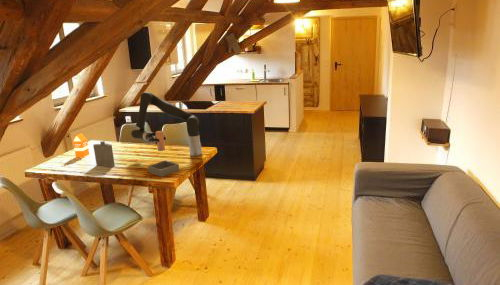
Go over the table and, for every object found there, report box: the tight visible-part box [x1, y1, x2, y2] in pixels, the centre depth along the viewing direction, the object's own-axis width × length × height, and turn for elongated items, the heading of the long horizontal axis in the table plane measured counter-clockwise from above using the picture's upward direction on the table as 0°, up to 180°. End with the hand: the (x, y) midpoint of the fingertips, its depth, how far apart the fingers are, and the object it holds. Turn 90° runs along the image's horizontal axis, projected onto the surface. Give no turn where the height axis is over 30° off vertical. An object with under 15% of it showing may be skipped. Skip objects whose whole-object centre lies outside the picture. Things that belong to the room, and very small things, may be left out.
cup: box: [155, 130, 166, 152], centre depth 287 cm, size 6×6×15 cm
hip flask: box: [92, 140, 115, 168], centre depth 292 cm, size 16×4×20 cm, turn 76°
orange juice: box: [72, 132, 90, 158], centre depth 319 cm, size 8×9×20 cm
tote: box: [147, 159, 180, 178], centre depth 275 cm, size 16×16×5 cm
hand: (162, 139), depth 285 cm, fingers closed on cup, 5 cm apart
